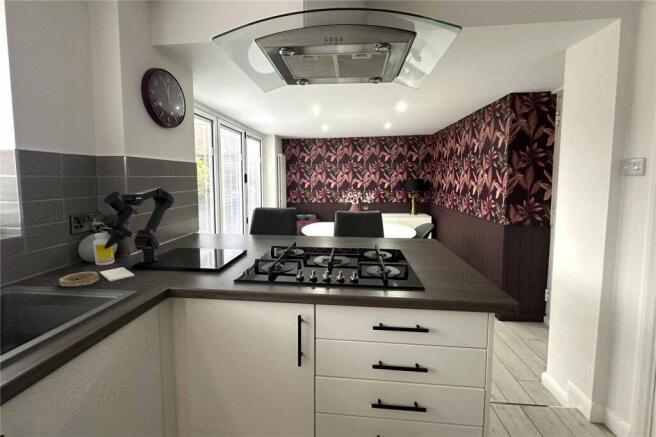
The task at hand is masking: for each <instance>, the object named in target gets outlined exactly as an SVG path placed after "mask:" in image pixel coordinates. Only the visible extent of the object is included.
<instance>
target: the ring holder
mask: <svg viewBox="0 0 656 437" xmlns="http://www.w3.org/2000/svg"><path fill="white" fill-rule="evenodd" d="M76 279H78V280H76ZM58 280H59V281H58V282H59V286H60V285H61V286H80V285H85V286H88V285H87V284H89V285H92V284H94V283H96V282H98V281H99V280H100V277H99V273H98V272H97V271H82V272H76V273H72V274H71V273H70V274H67V275H65V276H63V277H60V278H59V279H58ZM71 280H73V281H71ZM61 286H60V287H61ZM80 287H81V286H80Z"/></svg>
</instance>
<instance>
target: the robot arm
mask: <svg viewBox="0 0 656 437" xmlns="http://www.w3.org/2000/svg"><path fill="white" fill-rule="evenodd" d="M151 198H152V201H153V202H154V209H153V211H152V213H151V215H150V216H149V219H148V221H147V223H146V225H145V227H144V229H138V231H137V232H136V235H135V236H134V237H135V238H134V239H133V240H134V245H135V247H136V249H137V251H139V250H141V255H142V259H140V262H142V263H143V262H144V263H143V264H147V262H149V263H153V262H152V261H154V262H157V260H158V261H159V259H158V258H157V257H156V250H158V249H159V248H160V243H159V242H158V241H157V234H156V231H157V229H158V226H159V225H160V224H161V220H162V219H163V216H164V215H165V212H166V211H167V210H169V209H170V208H171V207H172V205H173V204H174V202H175V199H174V198H175V197H173V196H172V194H171V193H169V192H168V191H166V190H164V189H162V187H160V186H159V187H158V186H157V187H155V186H153V187H150V188H147V189H145V190H141V191H139V192H131V193H130V192H129V193H128V192H127V193H123V194H120V192H119V191H113V192H112V193H111V194H108V195H106V197H105V198H104V200H103V201H104V202H103V203H105V204H106V205H107V206H108V207H109V208H111V210H113V211H114V212H115V214H113V213H110V212H109V213H108V212H107V214H103V213H101V214H100V213H97V214H96V216H95V219H94V222H97V223H94V224H92V226H91V229H92V230H93V231H94V232H95V234H97V233H108V238H109V240H108V241H107V243H106V245H105V247H104V248H105V249H108V248H109V247H111V246H114V245H116V244H118V243H120V242H122V241H123V240H126V239H131V238H132V236H133V231H132V230H130V229H129V228H128V227H126V226H128V225H129V224H130V222H129V220H130V219H131V218H132V216H133V215H135V216H137V215H139V213H138V211H137V210H138V209H137V208H134V207H139V206H141V205H142V204H143V203H144V201H146V200H149V199H151ZM109 235H110V236H109ZM94 240H96V238H95V239H94Z"/></svg>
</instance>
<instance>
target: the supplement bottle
mask: <svg viewBox="0 0 656 437" xmlns="http://www.w3.org/2000/svg"><path fill="white" fill-rule="evenodd" d="M108 236H109V235H108V233H97V234H96V233H95V234H94V238H95V239H96V240H95V239H94V240H93V242H92V245H93V246H92V247H93V252H94V253H93V254H94V259H95V264H96V265H97V266H106V265H111V264H113V263H114V262H115V255H114V254H115V253H114V247H113V246H114V245H113V246H111V247H109V248H108V249H105V248H104V247H105V245H106V243H107V241H108V240H109V238H110V237H109V238H108Z"/></svg>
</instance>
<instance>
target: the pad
mask: <svg viewBox="0 0 656 437" xmlns="http://www.w3.org/2000/svg"><path fill="white" fill-rule="evenodd" d="M99 274H100V275H102V277H104V278H105V279H106V280H107V281H108V282H113V281H118V280H122V279H126V278H132V277H135V274H134V273H132V272H131V271H129V270H127V269H126V267H123V266H122V267H117V268H113V269H108V270H104V271H103V270H102V271H99Z"/></svg>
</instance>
